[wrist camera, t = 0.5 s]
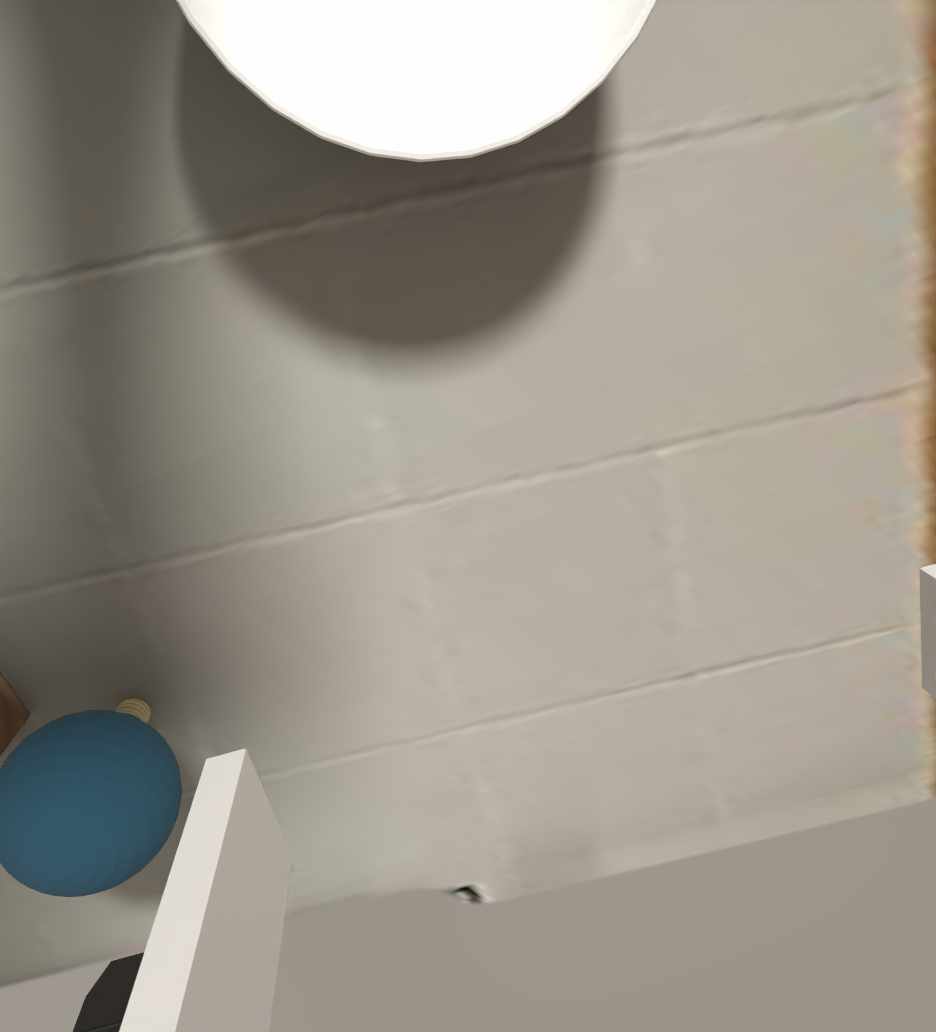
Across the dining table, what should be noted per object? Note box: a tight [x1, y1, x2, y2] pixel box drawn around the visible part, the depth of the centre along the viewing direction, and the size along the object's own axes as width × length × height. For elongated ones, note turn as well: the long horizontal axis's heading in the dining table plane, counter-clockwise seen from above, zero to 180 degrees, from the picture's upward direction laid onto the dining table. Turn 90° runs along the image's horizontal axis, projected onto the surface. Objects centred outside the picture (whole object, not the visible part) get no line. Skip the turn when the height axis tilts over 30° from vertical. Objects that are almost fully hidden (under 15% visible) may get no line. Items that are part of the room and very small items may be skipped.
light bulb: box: [0, 698, 182, 897], centre depth 39 cm, size 8×8×12 cm
